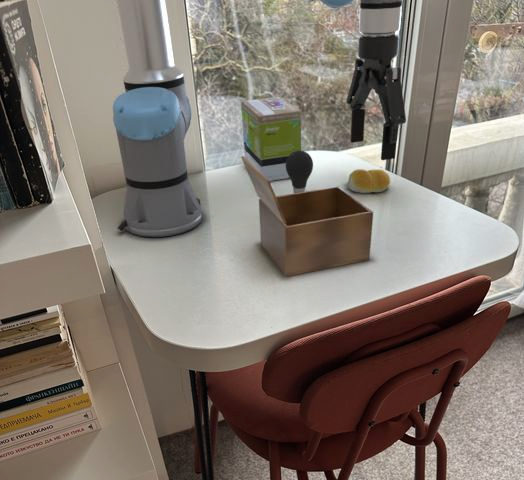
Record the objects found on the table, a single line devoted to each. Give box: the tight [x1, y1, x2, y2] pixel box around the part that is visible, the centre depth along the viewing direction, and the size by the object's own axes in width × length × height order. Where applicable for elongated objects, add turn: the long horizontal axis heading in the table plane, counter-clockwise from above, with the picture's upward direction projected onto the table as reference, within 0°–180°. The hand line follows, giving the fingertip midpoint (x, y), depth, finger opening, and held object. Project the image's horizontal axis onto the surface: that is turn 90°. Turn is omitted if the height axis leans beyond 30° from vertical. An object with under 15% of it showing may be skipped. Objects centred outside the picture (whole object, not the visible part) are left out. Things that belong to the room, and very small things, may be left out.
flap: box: [241, 155, 286, 224], centre depth 86 cm, size 7×13×1 cm
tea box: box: [240, 96, 302, 182], centre depth 127 cm, size 15×10×15 cm
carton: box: [258, 185, 374, 277], centre depth 94 cm, size 15×13×8 cm
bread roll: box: [346, 168, 391, 194], centre depth 119 cm, size 8×9×4 cm
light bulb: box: [286, 149, 314, 194], centre depth 113 cm, size 6×6×10 cm
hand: (371, 150), depth 115 cm, fingers open, 13 cm apart
